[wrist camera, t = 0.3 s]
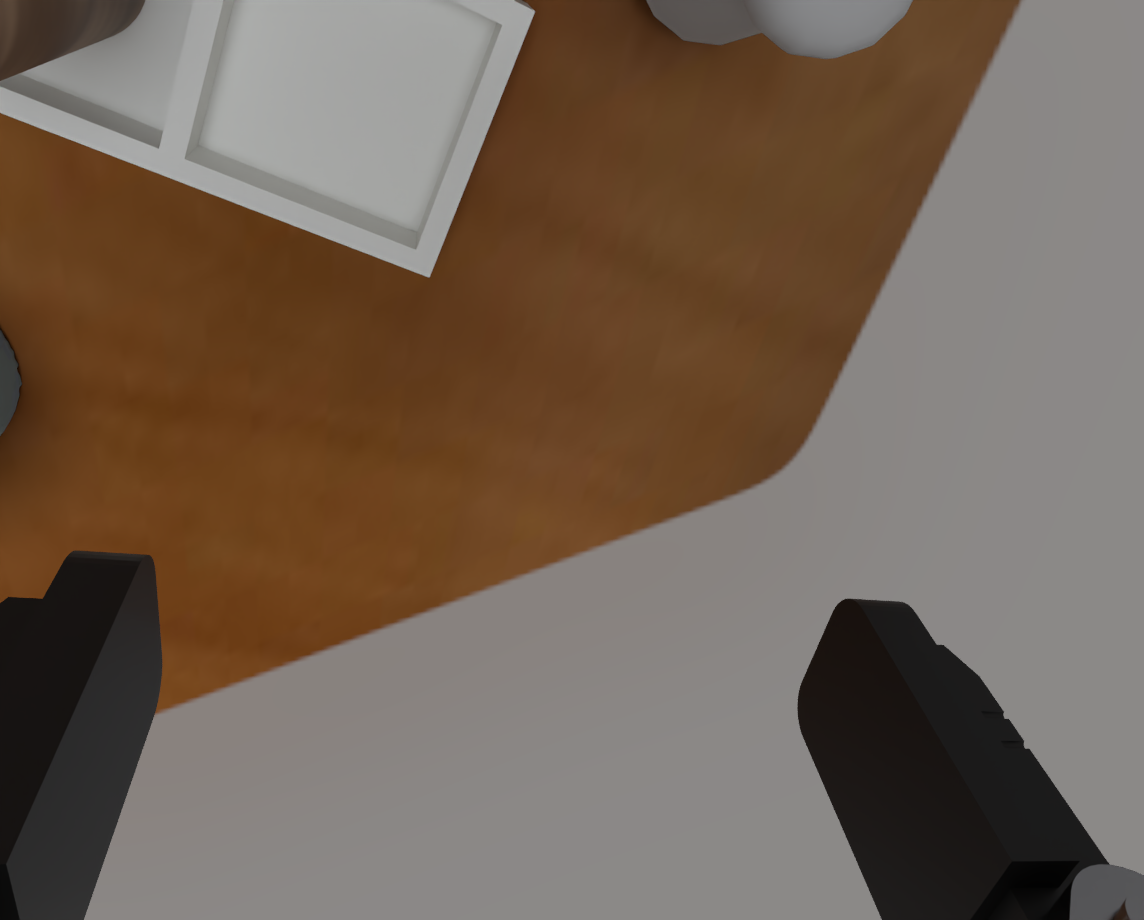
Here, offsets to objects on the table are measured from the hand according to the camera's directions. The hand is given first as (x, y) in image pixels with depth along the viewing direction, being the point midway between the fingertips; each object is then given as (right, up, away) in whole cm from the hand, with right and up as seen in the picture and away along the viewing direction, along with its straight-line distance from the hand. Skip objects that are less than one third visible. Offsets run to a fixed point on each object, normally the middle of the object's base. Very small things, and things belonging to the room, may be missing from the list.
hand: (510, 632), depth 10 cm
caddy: (-11, +17, +19) cm, 28 cm away
